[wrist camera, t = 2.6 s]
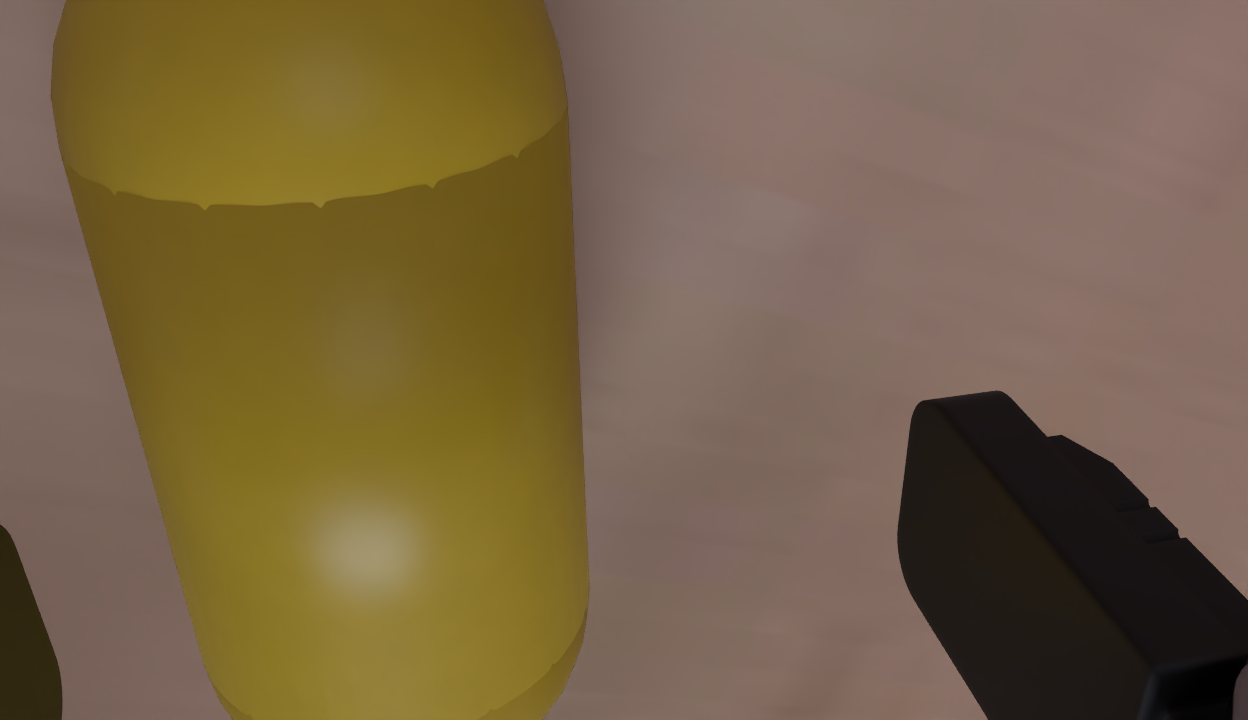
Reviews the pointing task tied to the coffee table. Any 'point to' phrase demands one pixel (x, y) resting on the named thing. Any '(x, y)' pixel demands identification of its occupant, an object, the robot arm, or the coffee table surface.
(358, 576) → the capsule
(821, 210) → the coffee table surface
